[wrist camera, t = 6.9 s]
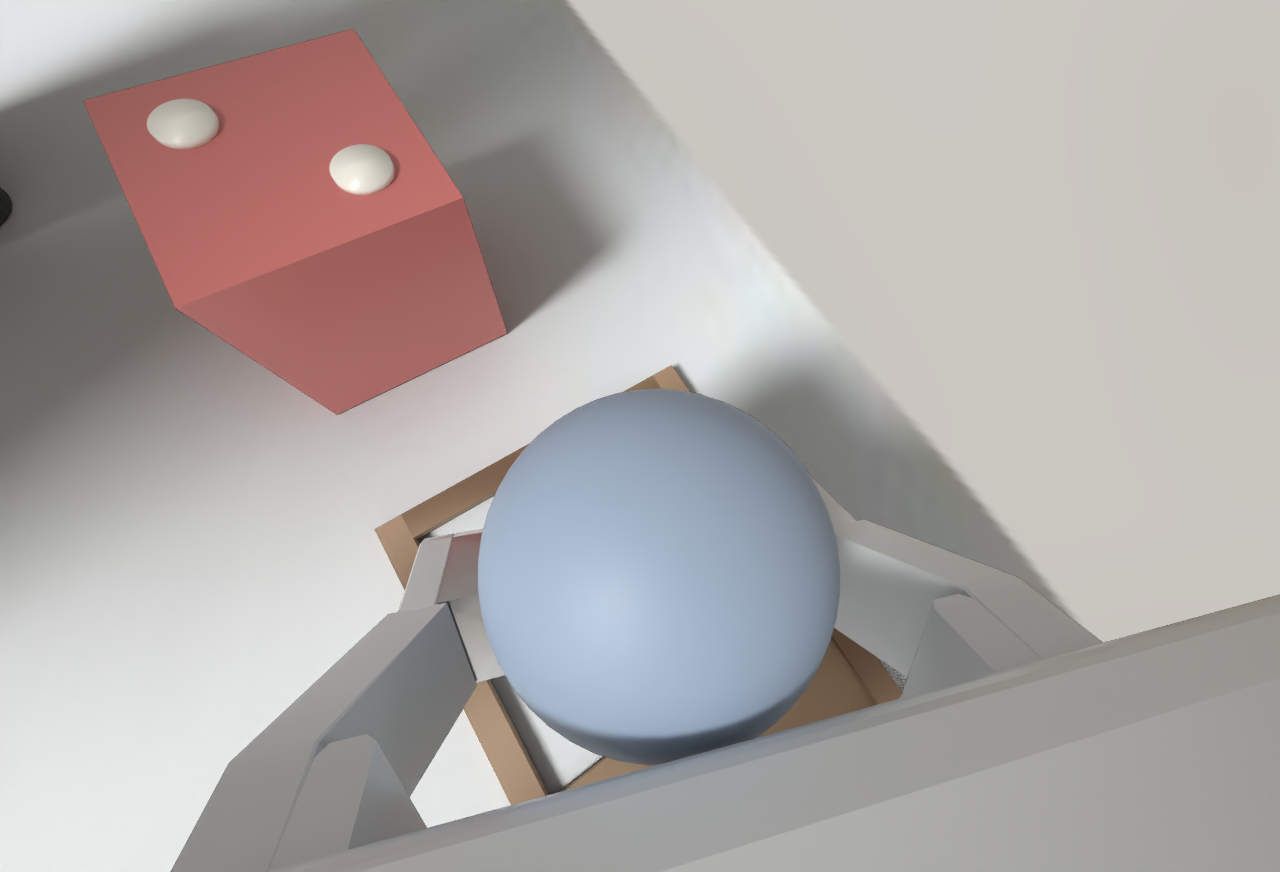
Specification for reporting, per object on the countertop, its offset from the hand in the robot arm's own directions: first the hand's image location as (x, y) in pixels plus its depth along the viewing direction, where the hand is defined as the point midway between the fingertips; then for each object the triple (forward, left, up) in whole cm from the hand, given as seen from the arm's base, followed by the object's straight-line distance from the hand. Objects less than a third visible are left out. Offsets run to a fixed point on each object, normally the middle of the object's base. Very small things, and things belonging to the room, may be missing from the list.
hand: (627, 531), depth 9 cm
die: (-11, +1, -6) cm, 13 cm away
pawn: (+1, 0, -6) cm, 6 cm away
